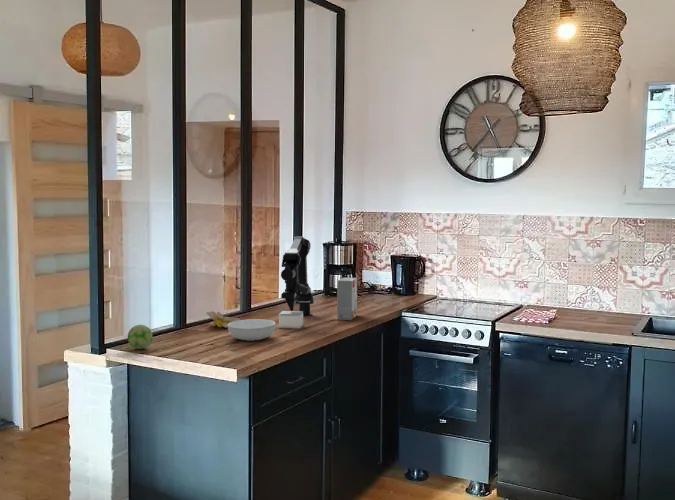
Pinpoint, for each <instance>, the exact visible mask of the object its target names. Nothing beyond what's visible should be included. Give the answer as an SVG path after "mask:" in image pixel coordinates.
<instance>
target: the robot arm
mask: <svg viewBox="0 0 675 500" xmlns="http://www.w3.org/2000/svg"><path fill="white" fill-rule="evenodd" d="M311 245H312V244H311V242H310V240H309V239H306V238H305V237H304V236H294V237H293V239H292V243H291V245H290V248H289V249H287V250H286V251H285V252H284V253H283V255H282V261H281V267H282V268H284V269H283V270H281V272H280V277H281V279H282V280H283V281H284V284H285V289H284V291H283V292H282V293H281V295H280V296H281V297H280V298H281V299H284V300H285V301H286V303H287V306H288V308H289V311H294V310H295V309H294V308H295V305H298V311H303V317H309V316H313V313H311V305H313V304H314V302H315V301H314V295H313V292H312V289H311V287H310V285H309V282H308V260H307V258H308V255H309V253H310V250H311Z"/></svg>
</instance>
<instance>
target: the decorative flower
mask: <svg viewBox="0 0 675 500" xmlns="http://www.w3.org/2000/svg"><path fill="white" fill-rule="evenodd" d="M205 314H206V315H207V316H208V317H209V318H211V319H212V320H213V321H211V322H210V323H208V324H209V325H214V326H216V325H217V327H218V328H228V326H227V325H228V323H230V322H233V321H238V320H240V318H234V317H231V316H230V317H229V316H224V315H223V314H222V313H221V312H220V311H217V312H215V311H213V310H211V311H207V312H206V313H205Z"/></svg>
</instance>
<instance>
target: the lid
mask: <svg viewBox="0 0 675 500" xmlns="http://www.w3.org/2000/svg"><path fill="white" fill-rule="evenodd" d="M302 313H303V311H299V310H297V311H296V310H293V311H291V310H282V311H280V312H279V313H278V316H279V315H297V316H300V315H301V314H302Z"/></svg>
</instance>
